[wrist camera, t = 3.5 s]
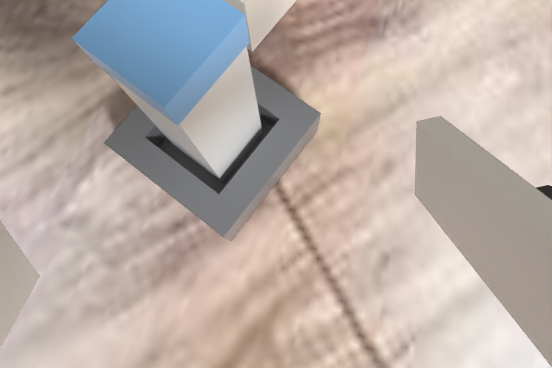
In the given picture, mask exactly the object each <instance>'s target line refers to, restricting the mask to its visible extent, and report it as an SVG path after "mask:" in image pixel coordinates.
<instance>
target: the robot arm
mask: <svg viewBox="0 0 552 368" xmlns="http://www.w3.org/2000/svg"><path fill="white" fill-rule="evenodd" d="M415 195H416V197H417V198H418V199H419V200H420V202H421V203H422V204H423V205H424V207H425V208H426V209H427V210H428V212H429V213H430V214H431V215H432V217H433V218H434V219H435V220H436V222H437V223H438V224H439V226H440V227H441V228H442V229H443V231H444V232H445V233H446V234H447V236H448V237H449V238H450V239H451V241H452V242H453V243H454V244H455V246H456V247H457V248H458V249H459V251H460V252H461V253H462V255H463V256H464V257H465V258H466V260H467V261H468V262H469V263H470V265H471V266H472V267H473V268H474V270H475V271H476V272H477V273H478V275H479V276H480V277H481V278H482V280H483V281H484V282H485V283H486V285H487V286H488V287H489V289H490V290H491V291H492V292H493V294H494V295H495V296H496V297H497V299H498V300H499V301H500V302H501V304H502V305H503V306H504V307H505V309H506V310H507V311H508V312H509V314H510V315H511V316H512V318H513V319H514V320H515V321H516V323H517V324H518V325H519V326H520V328H521V329H522V330H523V331H524V333H525V334H526V335H527V336H528V338H529V339H530V340H531V341H532V343H533V344H534V345H535V346H536V348H537V349H538V350H539V352H540V353H541V354H542V355H543V357H544V358H545V359H546V360H547V362H548V363H549V364H550V365H551V367H552V186H550V185H546V186H542V187H537V188H535V187H534V186H532V185H531V184H530V183H529V182H527V181H526V180H525V179H523V178H522V177H521V176H519V175H518V174H517V173H515V172H514V171H513V170H511V169H510V168H509V167H507V166H506V165H505V164H503V163H502V162H501V161H500V160H498V159H497V158H496V157H494V156H493V155H492V154H490V153H489V152H488V151H486V150H485V149H484V148H482V147H481V146H480V145H478V144H477V143H476V142H474V141H473V140H472V139H470V138H469V137H468V136H467V135H465V134H464V133H463V132H461V131H460V130H459V129H457V128H456V127H455V126H453V125H452V124H451V123H449V122H448V121H447V120H445V119H444V118H443V117H441V116H439V117H434V118H430V119H425V120H420V121H417V128H416V168H415ZM38 278H39V274H38V273H37V272H36V270H35V269H34V267H33V266H32V265H31V263H30V262H29V260H28V259H27V258H26V256H25V255H24V253H23V252H22V250H21V249H20V248H19V246H18V245H17V243H16V242H15V241H14V239H13V238H12V236H11V235H10V234H9V232H8V231H7V229H6V228H5V227H4V225H3V224H2V222H1V221H0V348H1V346H2V344H3V342H4V340H5V339H6V337H7V335H8V333H9V331H10V329H11V328H12V326H13V324H14V322H15V320H16V318H17V317H18V315H19V313H20V311H21V309H22V308H23V306H24V304H25V302H26V300H27V298H28V297H29V295H30V293H31V291H32V289H33V287H34V286H35V284H36V282H37V280H38Z"/></svg>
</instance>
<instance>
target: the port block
mask: <svg viewBox="0 0 552 368" xmlns="http://www.w3.org/2000/svg"><path fill="white" fill-rule="evenodd" d="M224 1H225V2H227V3H228V4H230V5H231V6H232V7H234V8H235V9H237V10H238V11H240V12H241V13H243V14H244V15H245V17H246V23H247V29H248V35H249V41H250V42H249V44H248V45H247V49H249V50H250V51H251V52H253V51H254V50H255V48H256V47H257V46H258V45H259V44H260V43H261V41H262V40H263V39H264V38H265V37H266V36H267V34H268V33H269V32H270V31H271V30H272V28H273V27H274V26H275V25H276V24H277V23H278V21H279V20H280V19H281V18H282V17H283V16H284V14H285V13H286V12H287V11H288V10H289V9H290V7H291V6H292V5H293V4H294V3H295V1H296V0H224Z"/></svg>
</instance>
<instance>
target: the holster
mask: <svg viewBox="0 0 552 368" xmlns="http://www.w3.org/2000/svg"><path fill="white" fill-rule="evenodd" d="M250 67H251V72H252V78H253V83H254V89H255V94H256V99H257V105H258V110H259V116H260V121H261V127H262V132H263V134H262V135H261V136H260V137H259V139H258V140H257V141H256V142H255V144H254V145H253V146H252V147H251V149H250V150H249V151H248V152H247V153H246V155H245V156H244V157H243V158H242V160H241V161H240V162H239V163H238V165H237V166H236V167H235V168H234V170H233V171H232V172H231V173H230V174H229V176H228V177H227V178H226V179H225V181H224V182H221V181H220V180H219V179H217V178H216V177H215V176H214V175H212V174H211V173H210V172H208V171H207V170H206V169H204V168H203V167H202V166H200V165H199V164H198V163H197V162H195V161H194V160H193V159H191V158H190V157H189V156H187V155H186V154H185V153H183V152H182V151H181V150H179V149H178V148H177V147H176V146H174V145H173V144H172V143H171V141H170V140H169V139H168V138H167V137H166V136H165V135H164V134H163V133H162V132H161V131H160V130H159V128H158V127H157V126H156V125H155V124H154V123H153V122H152V121H151V120H150V119H149V118H148V116H147V115H146V114H145V113H144V112H143V111H142V110H141V109H140V108H139V107H138V106H136V107H135V108H134V109H133V111H132V112H131V113H130V114H129V115H128V116H127V117H126V118H125V120H124V121H123V122H122V123H121V124H120V125H119V126H118V127H117V129H116V130H115V131H114V132H113V133H112V134H111V135H110V136H109V138H108V139H107V140H106V141H105V142H104V143H105V144H106V145H107V146H109V147H110V148H111V149H112V150H114V151H115V152H116V153H118V154H119V155H120V156H121V157H123V158H124V159H125V160H126V161H128V162H129V163H130V164H131V165H133V166H134V167H135V168H136V169H138V170H139V171H140V172H142V173H143V174H144V175H145V176H147V177H148V178H149V179H150V180H152V181H153V182H154V183H155V184H157V185H158V186H159V187H161V188H162V189H163V190H164V191H166V192H167V193H168V194H169V195H171V196H172V197H173V198H174V199H176V200H177V201H178V202H179V203H181V204H182V205H183V206H185V207H186V208H187V209H188V210H190V211H191V212H192V213H193V214H195V215H196V216H197V217H198V218H200V219H201V220H202V221H203V222H205V223H206V224H207V225H209V226H210V227H211V228H212V229H214V230H215V231H216V232H217V233H219V234H220V235H221V236H222V237H224V238H226V239H228V240H230V241H232V240H233V238H234V237H235V236H236V234H237V233H238V232H239V231H240V229H241V228H242V227H243V225H244V224H245V223H246V222H247V220H248V219H249V218H250V217H251V215H252V214H253V213H254V211H255V210H256V209H257V208H258V206H259V205H260V204H261V202H262V201H263V200H264V199H265V197H266V196H267V195H268V193H269V192H270V191H271V190H272V188H273V187H274V186H275V185H276V183H277V182H278V181H279V179H280V178H281V177H282V176H283V174H284V173H285V172H286V170H287V169H288V168H289V167H290V165H291V164H292V163H293V161H294V160H295V159H296V158H297V156H298V155H299V154H300V153H301V151H302V150H303V149H304V147H305V146H306V145H307V144H308V142H309V141H310V140H311V138H312V137H313V136H314V135H315V133H316V132H317V129H318V124H319V120H320V115H321V113H320V112H318V111H317V110H315V109H314V108H312V107H311V106H309V105H308V104H307V103H305V102H304V101H302V100H301V99H299V98H298V97H296V96H295V95H294V94H292V93H291V92H289V91H288V90H286V89H285V88H283V87H282V86H281V85H279V84H278V83H276V82H275V81H273V80H272V79H270V78H269V77H268V76H266V75H265V74H263V73H262V72H260V71H259V70H257V69H256V68H255V67H253V66H252V65H250Z"/></svg>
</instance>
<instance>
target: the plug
mask: <svg viewBox="0 0 552 368" xmlns="http://www.w3.org/2000/svg"><path fill="white" fill-rule="evenodd" d="M71 39H72V40H73V41H74V42H75V43H76V44H77V45H78V46H79V47H80V48H81V49H82V51H83V52H84V53H85V54H86V55H87V56H88V57H89V58H90V59H91V60H92V61H93V62H94V63H95V64H96V65H97V66H99V67H100V68H101V69H103V70H104V71H105V72H107V73H108V74H109V75H110V76H111V77H112V78H113V79H114V81H115V82H116V83H117V84H118V85H119V86H120V87H121V88H122V89H123V90H124V91H125V93H126V94H127V95H128V96H129V97H130V98H131V99H132V100H133V101H134V102H135V103H136V104H137V106H138V107H139V108H140V109H141V110H142V111H143V112H144V113H145V114H146V115H147V116H148V118H149V119H150V120H151V121H152V122H153V123H154V124H155V125H156V126H157V127H158V128H159V130H160V131H161V132H162V133H163V134H164V135H165V136H166V137H167V138H168V139H169V140H170V141H171V143H172V144H173V145H174V146H176V147H177V148H178V149H179V150H181V151H182V152H183V153H185V154H186V155H187V156H189V157H190V158H191V159H193V160H194V161H195V162H197V163H198V164H199V165H200V166H202V167H203V168H204V169H206V170H207V171H208V172H210V173H211V174H212V175H214V176H215V177H216V178H217V179H219V180H220V181H221V182H224V181H225V179H226V178H227V177H228V176H229V174H230V173H231V172H232V171H233V170H234V168H235V167H236V166H237V165H238V163H239V162H240V161H241V160H242V158H243V157H244V156H245V155H246V153H247V152H248V151H249V150H250V149H251V147H252V146H253V145H254V144H255V142H256V141H257V140H258V139H259V137H260V136H261V135H262V134H263V132H262V127H261V121H260V116H259V110H258V105H257V99H256V94H255V89H254V83H253V78H252V72H251V67H250V61H249V56H248V51H247V45H248V44H249V42H250V41H249V35H248V29H247V23H246V17H245V15H244V14H243V13H241V12H240V11H238V10H237V9H235V8H234V7H232V6H231V5H230V4H228V3H227V2H225V1H224V0H108V1H107V2H106V3H105V4H104V5H103V6H102V7H101V8H100V9H99V10H98V11H97V12H96V13H95V14H94V15H93V16H92V17H91V18H90V19H89V20H88V22H87V23H86V24H85V25H84V26H83V27H82V28H81V29H80V30H79V31H78V32H77V33H76V34H75V35H74V36H73V37H72V38H71Z"/></svg>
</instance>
